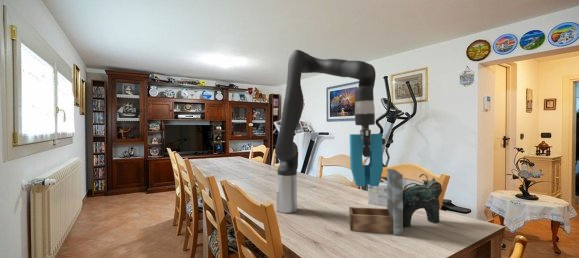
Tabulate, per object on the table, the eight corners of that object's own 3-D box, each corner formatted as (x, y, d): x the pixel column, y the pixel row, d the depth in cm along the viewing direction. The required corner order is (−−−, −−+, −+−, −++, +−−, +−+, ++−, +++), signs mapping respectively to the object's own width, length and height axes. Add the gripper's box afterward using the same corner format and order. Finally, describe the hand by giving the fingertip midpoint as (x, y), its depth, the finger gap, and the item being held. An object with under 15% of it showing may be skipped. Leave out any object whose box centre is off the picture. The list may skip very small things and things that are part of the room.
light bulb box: (392, 203, 137) (392, 182, 137) (389, 206, 131) (389, 185, 131) (371, 200, 143) (371, 180, 143) (367, 203, 137) (367, 182, 137)
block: (381, 183, 107) (379, 133, 107) (383, 186, 102) (382, 133, 102) (350, 183, 108) (349, 134, 108) (351, 186, 103) (350, 134, 103)
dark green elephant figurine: (433, 218, 114) (433, 171, 114) (446, 223, 108) (446, 174, 108) (395, 223, 108) (394, 174, 108) (406, 229, 102) (406, 177, 102)
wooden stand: (350, 232, 100) (350, 173, 100) (349, 219, 113) (348, 168, 113) (403, 235, 96) (402, 175, 96) (394, 222, 110) (394, 169, 110)
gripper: (354, 114, 113) (355, 154, 113) (356, 112, 99) (357, 158, 99) (372, 113, 112) (373, 154, 111) (377, 111, 97) (378, 158, 97)
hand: (365, 155), depth 105 cm, fingers closed on block, 5 cm apart
